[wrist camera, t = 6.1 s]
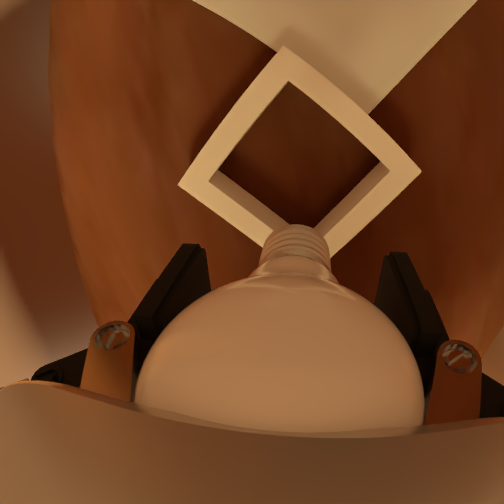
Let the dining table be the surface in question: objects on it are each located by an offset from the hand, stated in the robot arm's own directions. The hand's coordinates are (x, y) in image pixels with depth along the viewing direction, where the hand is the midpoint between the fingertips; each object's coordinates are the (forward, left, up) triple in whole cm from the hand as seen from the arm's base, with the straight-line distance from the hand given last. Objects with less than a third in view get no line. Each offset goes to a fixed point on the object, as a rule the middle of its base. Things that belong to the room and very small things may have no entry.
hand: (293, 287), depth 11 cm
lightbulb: (0, 0, -3) cm, 3 cm away
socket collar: (+1, -1, -12) cm, 12 cm away
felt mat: (+7, -13, -12) cm, 19 cm away
